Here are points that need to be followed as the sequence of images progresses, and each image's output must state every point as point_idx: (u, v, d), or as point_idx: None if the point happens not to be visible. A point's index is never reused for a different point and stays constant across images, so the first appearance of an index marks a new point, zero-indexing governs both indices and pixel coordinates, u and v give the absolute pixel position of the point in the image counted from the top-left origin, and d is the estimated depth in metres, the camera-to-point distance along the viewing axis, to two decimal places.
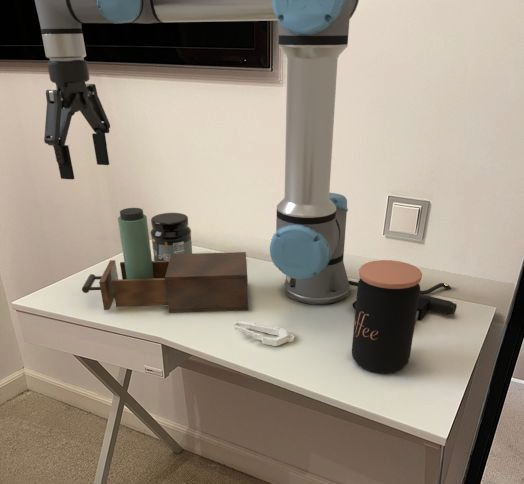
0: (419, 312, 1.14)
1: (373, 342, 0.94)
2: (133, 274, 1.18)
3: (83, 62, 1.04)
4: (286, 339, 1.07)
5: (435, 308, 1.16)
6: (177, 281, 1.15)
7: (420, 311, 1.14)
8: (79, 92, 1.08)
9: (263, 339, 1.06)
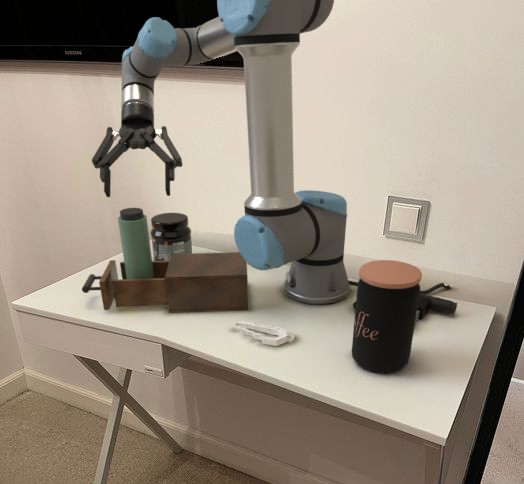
0: (420, 312, 1.14)
1: (373, 342, 0.94)
2: (133, 274, 1.18)
3: (135, 103, 1.23)
4: (286, 339, 1.07)
5: (436, 308, 1.16)
6: (177, 281, 1.15)
7: (421, 311, 1.14)
8: None
9: (263, 339, 1.06)
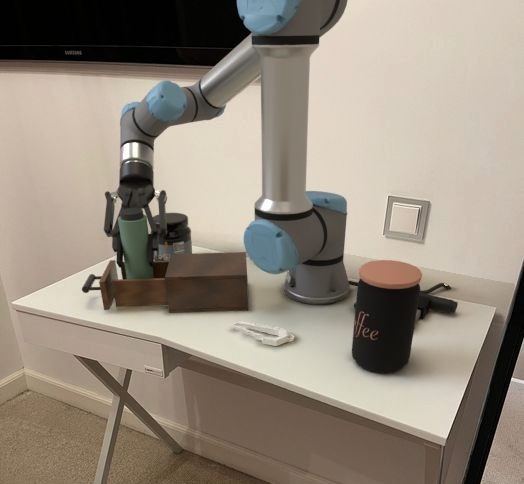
0: (421, 311, 1.14)
1: (373, 342, 0.94)
2: (133, 274, 1.18)
3: (134, 162, 1.18)
4: (286, 339, 1.07)
5: (436, 307, 1.17)
6: (177, 281, 1.15)
7: (422, 310, 1.14)
8: (139, 186, 1.20)
9: (263, 339, 1.06)
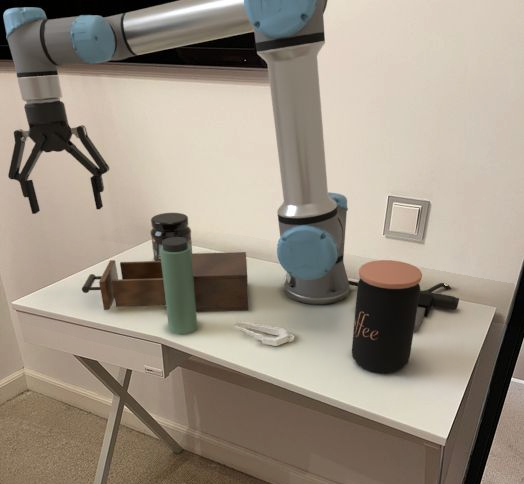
0: (425, 309, 1.15)
1: (373, 342, 0.94)
2: (175, 308, 1.08)
3: (38, 105, 1.03)
4: (286, 339, 1.07)
5: (439, 304, 1.18)
6: None
7: (426, 308, 1.15)
8: (52, 134, 1.07)
9: (263, 339, 1.06)
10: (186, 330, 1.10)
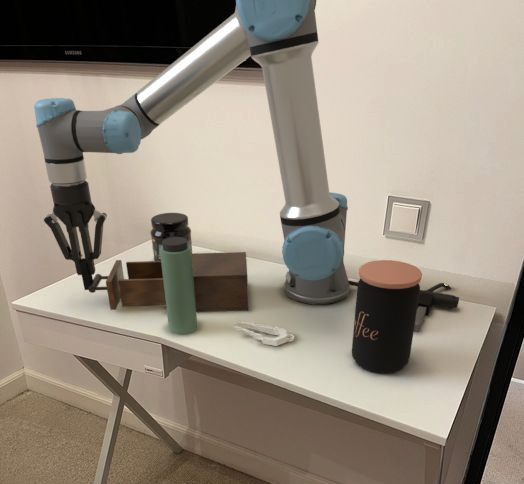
0: (426, 308, 1.16)
1: (373, 342, 0.94)
2: (175, 308, 1.08)
3: (65, 189, 1.07)
4: (286, 339, 1.07)
5: (439, 303, 1.18)
6: None
7: (427, 307, 1.15)
8: (77, 204, 1.11)
9: (263, 339, 1.06)
10: (186, 330, 1.10)
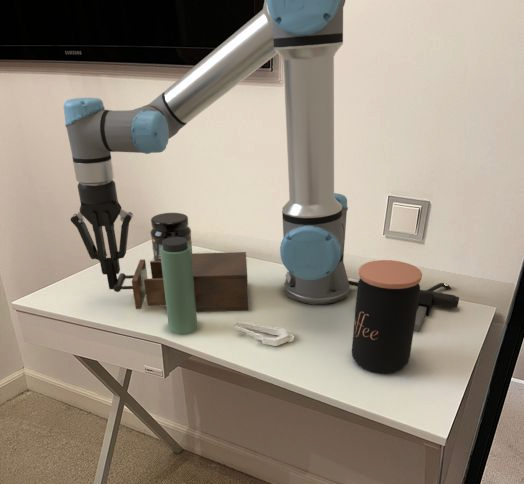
0: (427, 308, 1.16)
1: (373, 342, 0.94)
2: (175, 308, 1.08)
3: (93, 188, 1.08)
4: (286, 339, 1.07)
5: (439, 303, 1.18)
6: None
7: (428, 307, 1.15)
8: (104, 203, 1.12)
9: (263, 339, 1.06)
10: (186, 330, 1.10)
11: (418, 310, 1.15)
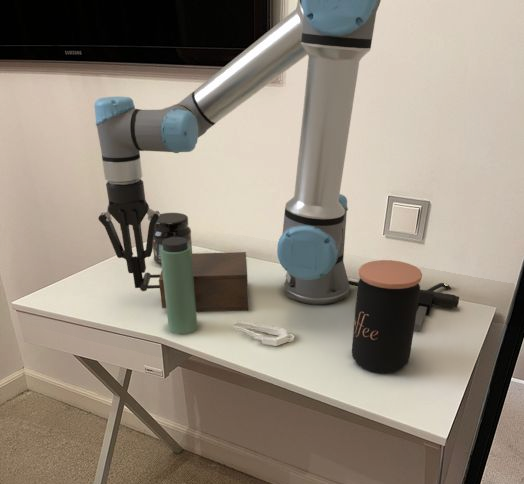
0: (427, 308, 1.16)
1: (373, 342, 0.94)
2: (175, 308, 1.08)
3: (122, 187, 1.08)
4: (286, 339, 1.07)
5: (440, 303, 1.18)
6: None
7: (428, 307, 1.16)
8: (132, 202, 1.12)
9: (263, 339, 1.06)
10: (186, 330, 1.10)
11: (418, 310, 1.15)
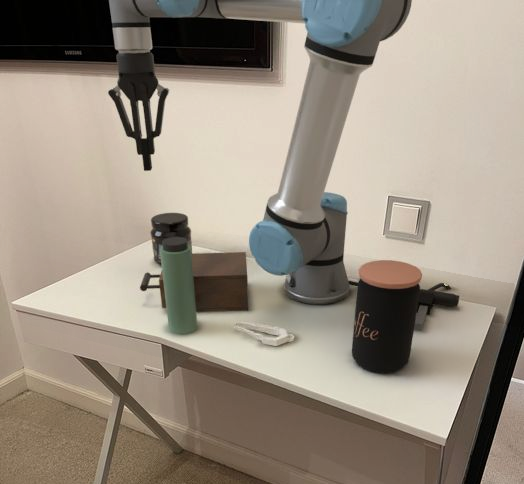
0: (428, 307, 1.16)
1: (373, 342, 0.94)
2: (175, 308, 1.08)
3: (132, 55, 1.08)
4: (286, 339, 1.07)
5: (440, 302, 1.19)
6: None
7: (429, 306, 1.16)
8: (141, 75, 1.12)
9: (263, 339, 1.06)
10: (186, 330, 1.10)
11: (420, 309, 1.15)
